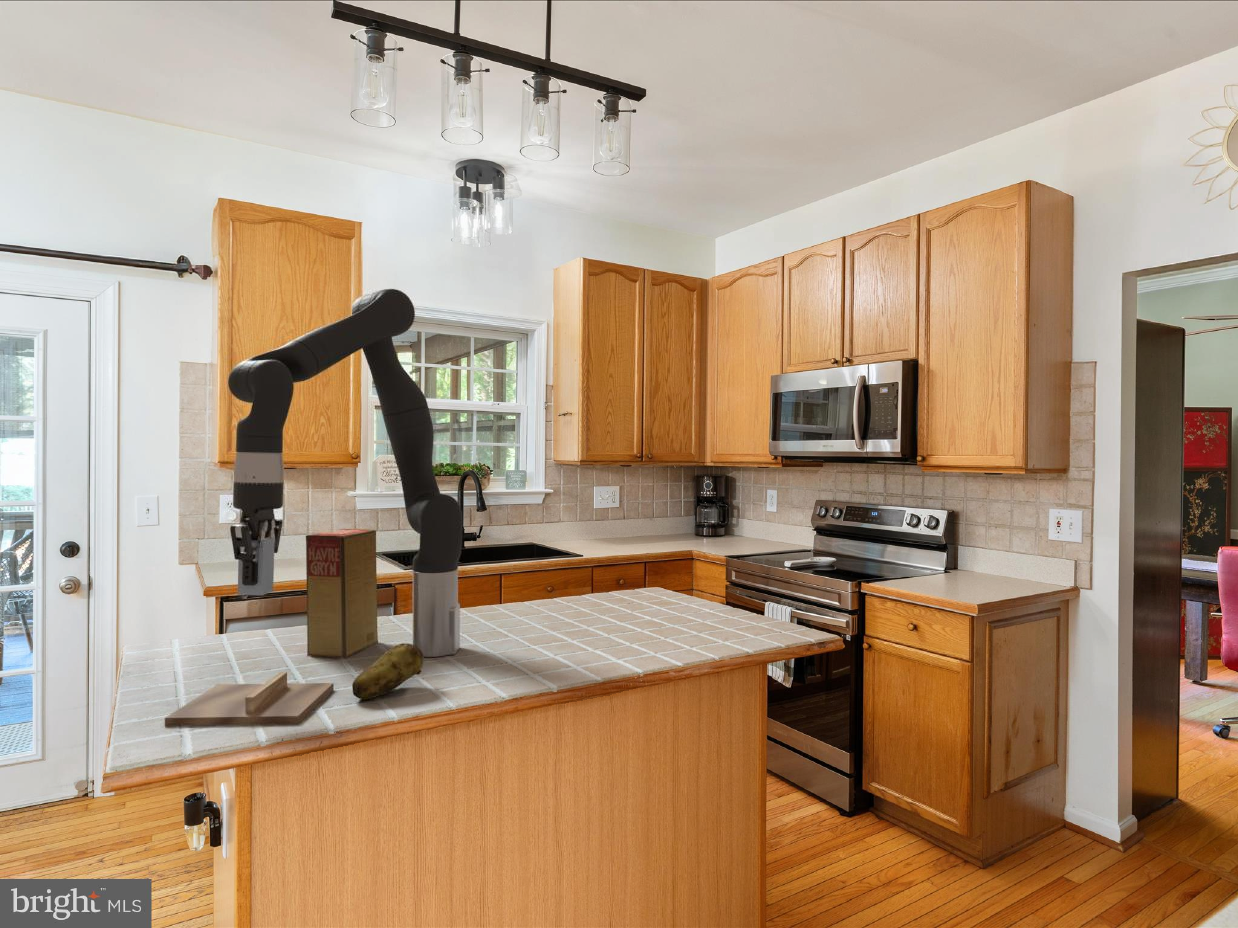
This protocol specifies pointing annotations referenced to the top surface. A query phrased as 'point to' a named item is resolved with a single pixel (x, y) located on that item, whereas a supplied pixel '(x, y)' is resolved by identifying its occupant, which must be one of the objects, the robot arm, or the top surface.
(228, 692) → the board
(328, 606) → the food packaging
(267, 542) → the block
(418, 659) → the potato
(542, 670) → the top surface
